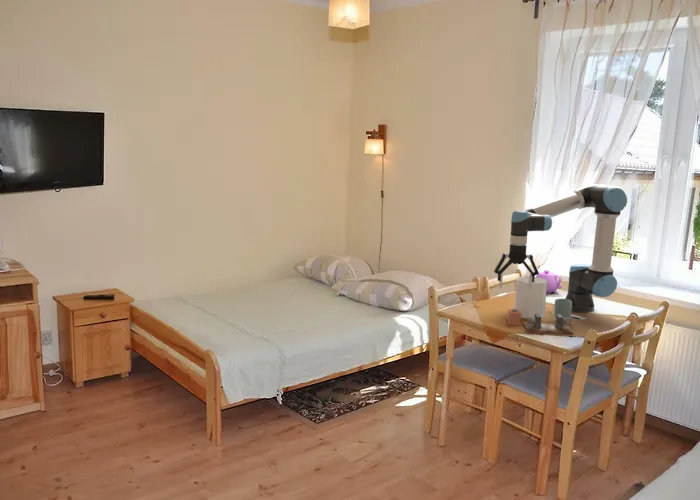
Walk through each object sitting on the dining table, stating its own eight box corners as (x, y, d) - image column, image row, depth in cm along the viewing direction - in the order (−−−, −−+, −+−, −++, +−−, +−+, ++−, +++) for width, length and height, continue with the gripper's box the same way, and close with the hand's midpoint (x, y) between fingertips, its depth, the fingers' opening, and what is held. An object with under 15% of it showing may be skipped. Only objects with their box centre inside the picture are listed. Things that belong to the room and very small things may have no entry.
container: (517, 309, 315) (520, 275, 312) (546, 313, 309) (549, 278, 306) (511, 316, 302) (514, 281, 299) (541, 320, 296) (544, 284, 293)
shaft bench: (566, 326, 287) (568, 312, 286) (573, 334, 276) (574, 320, 275) (523, 324, 289) (524, 311, 288) (527, 332, 278) (528, 318, 277)
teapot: (522, 291, 351) (523, 269, 349) (530, 286, 363) (532, 265, 360) (557, 296, 340) (559, 274, 337) (565, 291, 351) (566, 270, 349)
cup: (550, 318, 300) (552, 298, 298) (566, 318, 301) (567, 298, 299) (557, 323, 292) (559, 302, 290) (573, 323, 293) (574, 302, 291)
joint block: (518, 321, 294) (519, 308, 293) (520, 325, 289) (521, 311, 288) (507, 321, 294) (508, 308, 293) (509, 324, 289) (510, 311, 288)
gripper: (544, 243, 287) (540, 287, 291) (490, 241, 290) (487, 285, 294) (547, 246, 280) (543, 291, 284) (492, 244, 282) (489, 289, 286)
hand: (515, 288), depth 289 cm, fingers open, 13 cm apart
